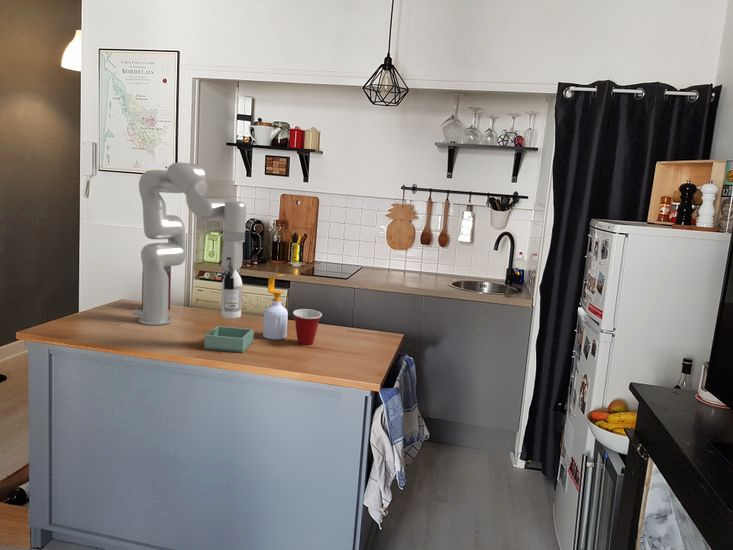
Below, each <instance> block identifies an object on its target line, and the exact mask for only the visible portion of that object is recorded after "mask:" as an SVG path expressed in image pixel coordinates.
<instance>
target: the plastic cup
mask: <svg viewBox="0 0 733 550" xmlns="http://www.w3.org/2000/svg"><path fill="white" fill-rule="evenodd" d="M292 314H293V317H294V321H295V323H294V324H295V330H296V339H297V344H298V345H300V346H311V345H313V344H314V342H315V338H316V336H317V335H316V334H317V330H318V325H319V322H320V319H321V317H322V316H323V313H322V312H320V311H319V310H318V311H317V310H314V309H308V308H300V309H294V311H293V312H292Z"/></svg>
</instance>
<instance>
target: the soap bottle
mask: <svg viewBox="0 0 733 550" xmlns="http://www.w3.org/2000/svg"><path fill="white" fill-rule="evenodd" d="M284 274H285V273H284ZM284 274H279V275H274V276H271V277H270V276H269V278H268V282H267V290H268V293H271V294H273V296H274V298H272V299H271V301H272V303H271V305H268V306H267V307H266V308H265V309H264V311H263V328H262V329H263V331H262V337H263V338H264V339H267V340H272V341H273V340H274V341H279V340H283V339H286V338H287V335H288V321H289V320H288V319H289V318H288V316H289V313H288V309H287V308H286V307H284V305H282V299H281V298H280V296H281V295H282V294H285V291H282V290H276V289H275V281H276V279H275V278H277V277H281V276H284Z"/></svg>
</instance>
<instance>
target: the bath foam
mask: <svg viewBox="0 0 733 550" xmlns="http://www.w3.org/2000/svg"><path fill="white" fill-rule="evenodd" d="M229 269H232V268H229ZM230 272H231V271H230ZM233 278H234V288H233V289H232V290H231V289H224V278H223V279H222V281H221V282H222V283H221V303H220V304H221V306H220V309H221V311H220V316H221V317H222V318H225V319H238V318H240V317H242V303H243V279H242V277H241V274H238V272H237V269H236V270H234V274H233Z"/></svg>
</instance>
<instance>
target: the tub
mask: <svg viewBox="0 0 733 550" xmlns="http://www.w3.org/2000/svg"><path fill="white" fill-rule="evenodd" d="M254 334H255V329H252V328H246V327H245V328H244V327H232V326H222V325H221V326H220V325H217V326H216V327H214V328H213V329H212V330H210V331H209V332H207V333H206V334H205V335H204V348H203V349H204V350H207V351H218V352H219V351H220V352H228V353H239V354H240V353H241V354H244V352H246V350H247V349H248V348H250V346H251V345H252V344H253V343H254V336H255V335H254Z"/></svg>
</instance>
